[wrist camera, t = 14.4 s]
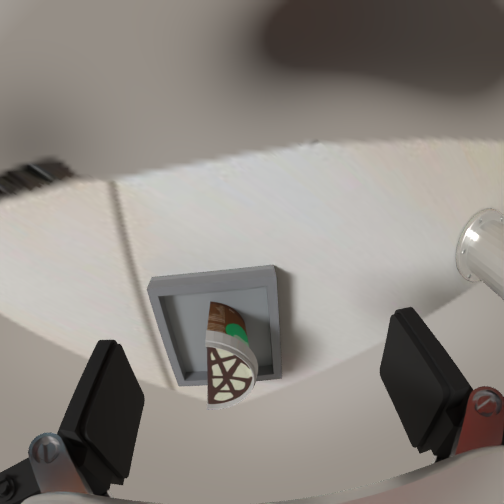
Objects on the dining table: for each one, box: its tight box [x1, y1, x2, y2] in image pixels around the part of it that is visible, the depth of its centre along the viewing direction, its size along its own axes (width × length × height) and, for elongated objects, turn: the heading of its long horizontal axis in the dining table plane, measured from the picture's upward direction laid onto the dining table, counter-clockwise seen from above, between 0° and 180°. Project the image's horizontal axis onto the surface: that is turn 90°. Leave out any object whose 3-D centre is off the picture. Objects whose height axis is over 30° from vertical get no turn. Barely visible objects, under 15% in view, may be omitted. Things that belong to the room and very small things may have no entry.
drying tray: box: [147, 265, 282, 386], centre depth 43 cm, size 16×18×3 cm
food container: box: [205, 301, 258, 410], centre depth 39 cm, size 12×6×10 cm, turn 176°
